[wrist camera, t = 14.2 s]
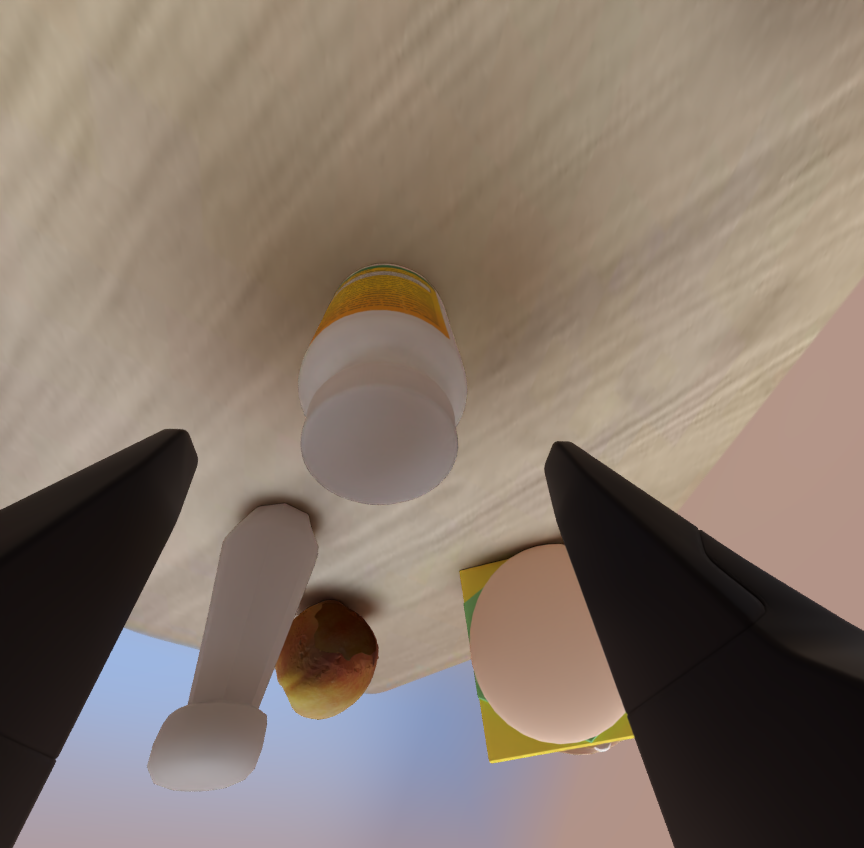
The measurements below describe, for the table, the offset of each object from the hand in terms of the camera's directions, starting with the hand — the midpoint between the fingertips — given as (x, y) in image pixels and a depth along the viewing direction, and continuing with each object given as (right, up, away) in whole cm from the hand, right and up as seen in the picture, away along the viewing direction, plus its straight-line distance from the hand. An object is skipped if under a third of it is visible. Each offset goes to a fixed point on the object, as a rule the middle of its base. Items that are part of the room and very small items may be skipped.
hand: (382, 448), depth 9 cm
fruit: (-8, -16, +23) cm, 29 cm away
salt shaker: (-9, -6, +16) cm, 19 cm away
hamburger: (+10, -12, +22) cm, 27 cm away
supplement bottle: (-1, +6, +8) cm, 10 cm away
